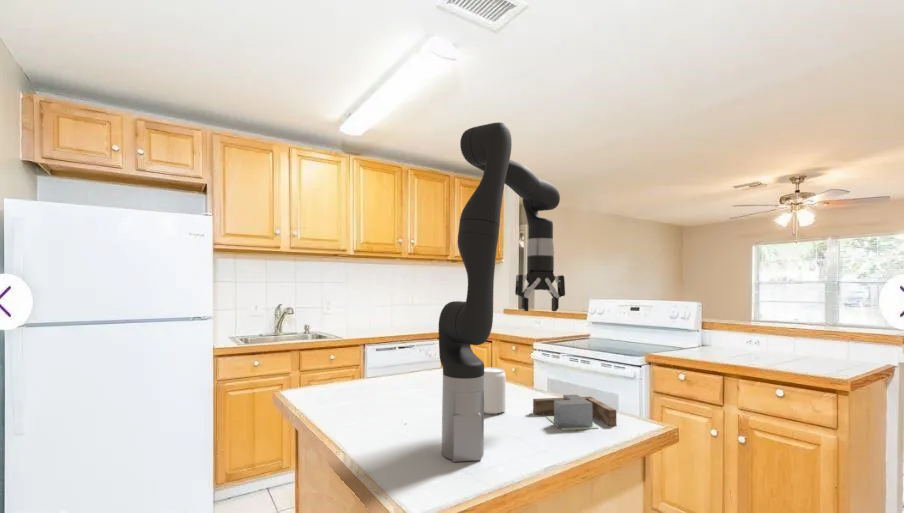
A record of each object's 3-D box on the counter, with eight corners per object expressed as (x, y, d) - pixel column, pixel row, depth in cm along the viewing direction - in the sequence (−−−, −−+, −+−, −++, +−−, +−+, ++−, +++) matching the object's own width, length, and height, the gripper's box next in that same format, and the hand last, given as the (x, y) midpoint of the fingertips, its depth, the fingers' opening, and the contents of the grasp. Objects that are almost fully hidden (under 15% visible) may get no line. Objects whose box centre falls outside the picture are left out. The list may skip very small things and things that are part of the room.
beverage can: (506, 415, 126) (507, 372, 126) (478, 415, 126) (478, 372, 126) (504, 407, 134) (504, 367, 134) (477, 406, 134) (477, 366, 135)
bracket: (592, 426, 116) (592, 403, 117) (560, 428, 115) (560, 404, 115) (576, 416, 125) (576, 394, 125) (546, 417, 124) (546, 395, 124)
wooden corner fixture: (616, 425, 118) (616, 410, 118) (552, 428, 115) (552, 413, 115) (590, 410, 132) (590, 396, 132) (533, 412, 128) (533, 398, 129)
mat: (598, 428, 115) (598, 427, 115) (562, 430, 114) (562, 429, 114) (578, 415, 126) (578, 415, 126) (545, 417, 124) (545, 416, 124)
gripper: (558, 256, 133) (558, 310, 132) (512, 254, 131) (512, 310, 130) (569, 254, 126) (568, 312, 125) (521, 253, 124) (520, 311, 123)
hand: (540, 311), depth 127 cm, fingers open, 8 cm apart
